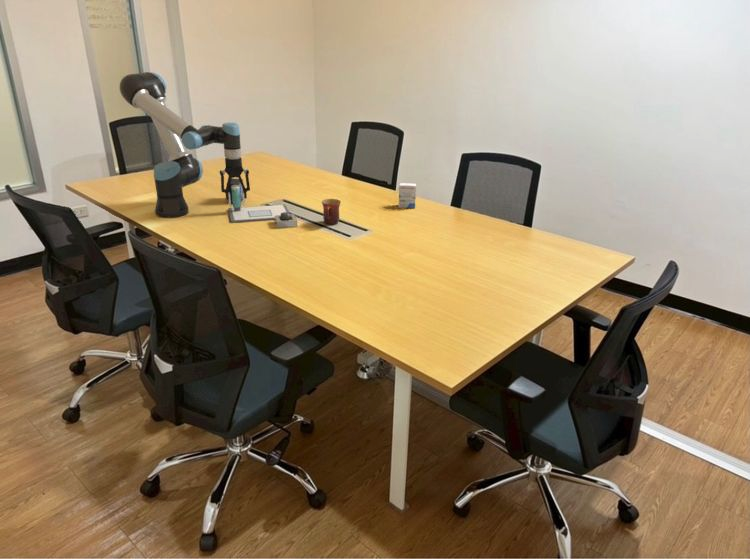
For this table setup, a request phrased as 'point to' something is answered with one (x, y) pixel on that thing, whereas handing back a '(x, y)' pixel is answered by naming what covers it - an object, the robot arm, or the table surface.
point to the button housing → (285, 222)
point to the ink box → (407, 195)
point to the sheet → (256, 213)
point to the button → (285, 216)
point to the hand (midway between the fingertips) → (236, 205)
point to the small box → (235, 182)
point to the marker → (236, 197)
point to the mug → (331, 211)
